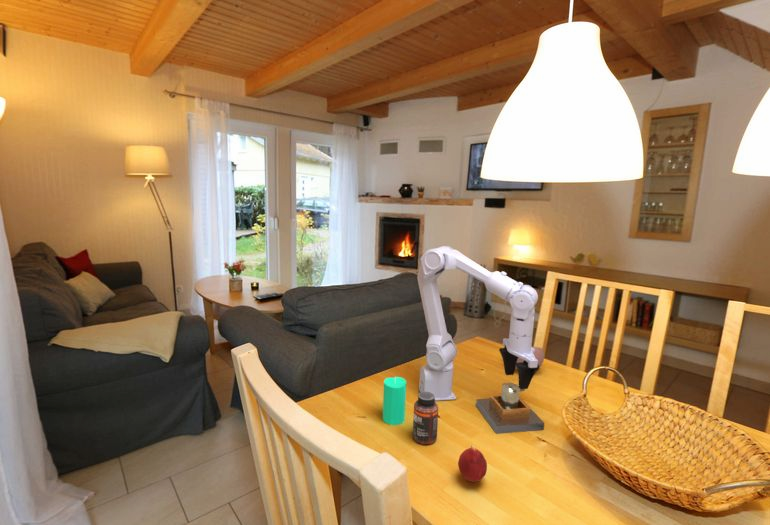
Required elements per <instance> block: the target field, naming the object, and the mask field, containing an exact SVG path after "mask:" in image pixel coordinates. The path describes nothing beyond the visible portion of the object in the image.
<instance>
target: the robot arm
mask: <svg viewBox="0 0 770 525" xmlns="http://www.w3.org/2000/svg"><path fill="white" fill-rule="evenodd" d="M419 260H420V265H419V269H418V273H417V278H416V280H417V283H418V288H419V292H420V297H421V304H422V307H423V308H422V309H423V314H424V318H425V323H426V324H425V325H426V328H427V332H428V338H427V342H426V345H425V347H426V354H425V361H426V365H422V366H420V368H419V380H418V381H419V382H418V383H419V384H418V386H417V387H418V390H419V393H421V392H431V393H433V394H434V396H435V402H436V401H448V400H449V401H451V400H457V397H456V395H455V393H454V392H453V391H452V390H453V377H454V363H453V362H454V359H455V358H456V356H457V354H458V348H457V346H456V344H455V343H454V340H453V338H452V335H451V334H450V333H449V332H448V331H447V325H446V322H445V315H444V310H443V307H442V305H443V304H442V301H441V296H440V291H439V286H438V282H437V281H438V279H439V277H440V276H441V275H442V273H443V272H444V271H448V270H449V271H450V270H452V271H453V270H459V271H461V272H463V273H465V274H467V275H468V276H470V277H472V278H473V279H477V280H478V281H480V282H482V283H483V284H484V286H485V289H486V290H487V291H489V292H490V293H492V294H493V295H495V296H497V297H499V298H500V299H501V300H504V301H505V302H506V303H509V305H510V306H511V314H510V321H509V322H510V323H509V325H510V326H509V331H508V332H509V334H508V337H507V338H502V346H503V347H502V348H501V347H500V348H499V353H500V355H501V359H502V362H503V367H504V368H503V369H504V374H505V375H506V376H513V375H514V374H515V371H516V370H517V374H518V386H519V388H520V389H525V390H528V389H529V387H530V385H531V382H532V379H533V378H534V376H535V375H536V373H537V372H538V371H539V370H540V368H541V366H539V365H538V360H537V359H536V358H535V356H534V354H533V352H535V349H534V348H532V347H533V346H532V344H533V334H534V325H535V313H536V311H535V309H536V307H535V306H536V304H537V302H538V301H539V294H538V292H537V291H536V289H535V288H533V287H532V285H529V284H524V283H523V282H521V281H517V280H515V279H512V278H511V277H509V276H507V275H508V273H507V272H505V271H503V270H502V271H501V272H500V271H498V270H495V271H493V272H491V271H489V270H488V269H486V268H485V267H483V266H481V264H478V263H477V262H476V261H473V259H470V258H469V257H468V256H466V255H464V253H462V252H460V251H459V250H457V249H455V248H454V249H453V248H452V247H451V246H448V245H441V246H440V247H436V248H431V249H430V248H429V249H428V250H426V251H425V253H423V255H422V256H421V257H420V259H419ZM518 357H519V358H521V359H522V360H524V361H523V362H520V363H516V362H517V359H518ZM516 366H517V369H515V367H516Z"/></svg>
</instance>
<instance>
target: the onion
mask: <svg viewBox="0 0 770 525" xmlns="http://www.w3.org/2000/svg"><path fill="white" fill-rule="evenodd" d="M458 458H459V459H458V462H457V466H458V471H459V472H460V474H461V475H462V477H464V479H465V480H467V481H469V482H472V483H473V482H474V483H475V482H479V481H482V479H483V478H484V477H485V476H486V474H487V470H488V463H487V459H486V458H485V455H483V453H482V452H481V451H480V450H479V449H477V448H476V447H475V445H474V444H471V446H470V447H469V448H466V449H465V450H463V452H462V453H460V455H459V457H458Z"/></svg>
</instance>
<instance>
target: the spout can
mask: <svg viewBox="0 0 770 525" xmlns="http://www.w3.org/2000/svg"><path fill="white" fill-rule="evenodd" d="M501 388H502V389H501V395H502V396H501V406H502V407H503V409H516V408H518V401H519V397H520V392H525V391H526V389H520V388H519V384H517V383H514V382H509V381H508V382H504V383H502V387H501Z"/></svg>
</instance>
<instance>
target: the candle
mask: <svg viewBox="0 0 770 525" xmlns="http://www.w3.org/2000/svg"><path fill="white" fill-rule="evenodd" d="M406 397H407V380H406V379H405V378H404V377H399V376H394V377H385V379H384V380H383V397H382V398H383V400H382V421H383V422H384V423H385V424H387V425H390V426H399V425H401V424H403V423H404V422H405V421H406Z"/></svg>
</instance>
